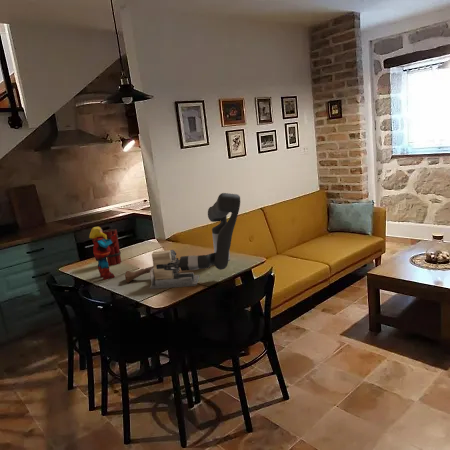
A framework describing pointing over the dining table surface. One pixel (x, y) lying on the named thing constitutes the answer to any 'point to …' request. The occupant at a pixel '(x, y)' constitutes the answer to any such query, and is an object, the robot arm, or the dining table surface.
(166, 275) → the wooden block
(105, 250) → the toy
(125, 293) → the dining table surface
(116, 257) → the dynamite
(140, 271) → the hammer
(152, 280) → the rail
